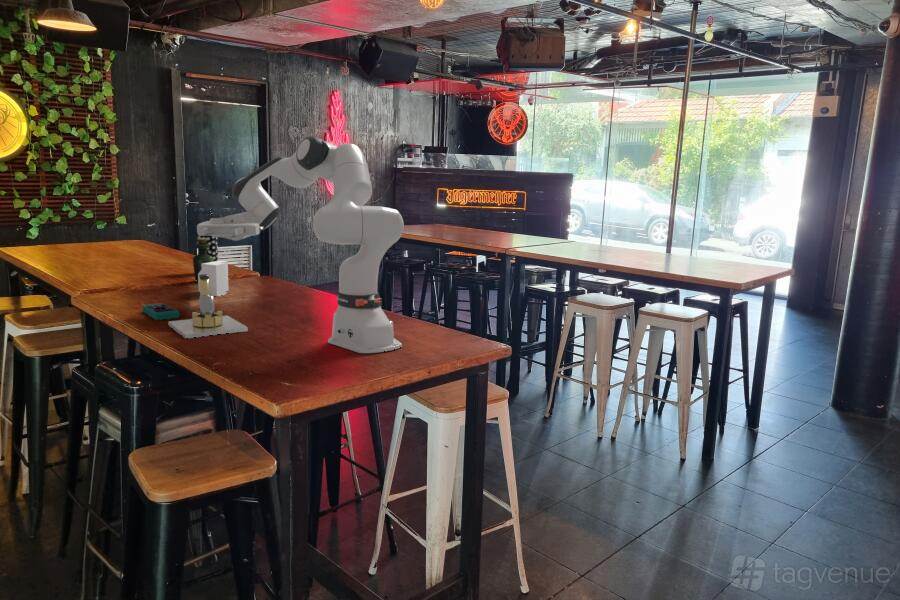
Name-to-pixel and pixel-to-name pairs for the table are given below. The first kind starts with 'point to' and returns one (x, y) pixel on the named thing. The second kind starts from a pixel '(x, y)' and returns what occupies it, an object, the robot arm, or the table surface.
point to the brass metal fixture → (208, 319)
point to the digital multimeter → (160, 311)
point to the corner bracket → (216, 277)
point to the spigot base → (193, 331)
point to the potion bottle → (201, 256)
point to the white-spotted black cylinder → (211, 246)
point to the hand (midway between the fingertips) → (219, 232)
